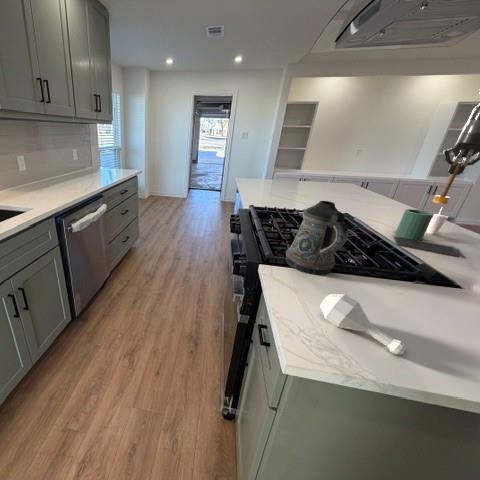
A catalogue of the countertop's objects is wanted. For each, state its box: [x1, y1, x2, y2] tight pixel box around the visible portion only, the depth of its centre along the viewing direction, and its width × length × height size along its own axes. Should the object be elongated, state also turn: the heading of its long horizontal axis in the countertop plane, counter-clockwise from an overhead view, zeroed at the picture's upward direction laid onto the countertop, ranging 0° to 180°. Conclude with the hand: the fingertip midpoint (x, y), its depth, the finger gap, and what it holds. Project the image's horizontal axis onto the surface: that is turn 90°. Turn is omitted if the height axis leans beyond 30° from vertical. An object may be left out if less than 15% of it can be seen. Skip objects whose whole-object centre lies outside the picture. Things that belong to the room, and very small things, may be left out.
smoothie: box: [426, 206, 449, 235], centre depth 131 cm, size 6×6×14 cm
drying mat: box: [393, 235, 460, 258], centre depth 117 cm, size 20×12×1 cm, turn 55°
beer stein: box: [285, 200, 349, 276], centre depth 92 cm, size 16×19×25 cm
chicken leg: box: [319, 293, 406, 355], centre depth 64 cm, size 8×18×8 cm, turn 37°
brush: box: [432, 161, 462, 205], centre depth 114 cm, size 5×5×18 cm
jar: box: [394, 208, 435, 241], centre depth 125 cm, size 10×10×13 cm
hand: (453, 174), depth 112 cm, fingers closed on brush
